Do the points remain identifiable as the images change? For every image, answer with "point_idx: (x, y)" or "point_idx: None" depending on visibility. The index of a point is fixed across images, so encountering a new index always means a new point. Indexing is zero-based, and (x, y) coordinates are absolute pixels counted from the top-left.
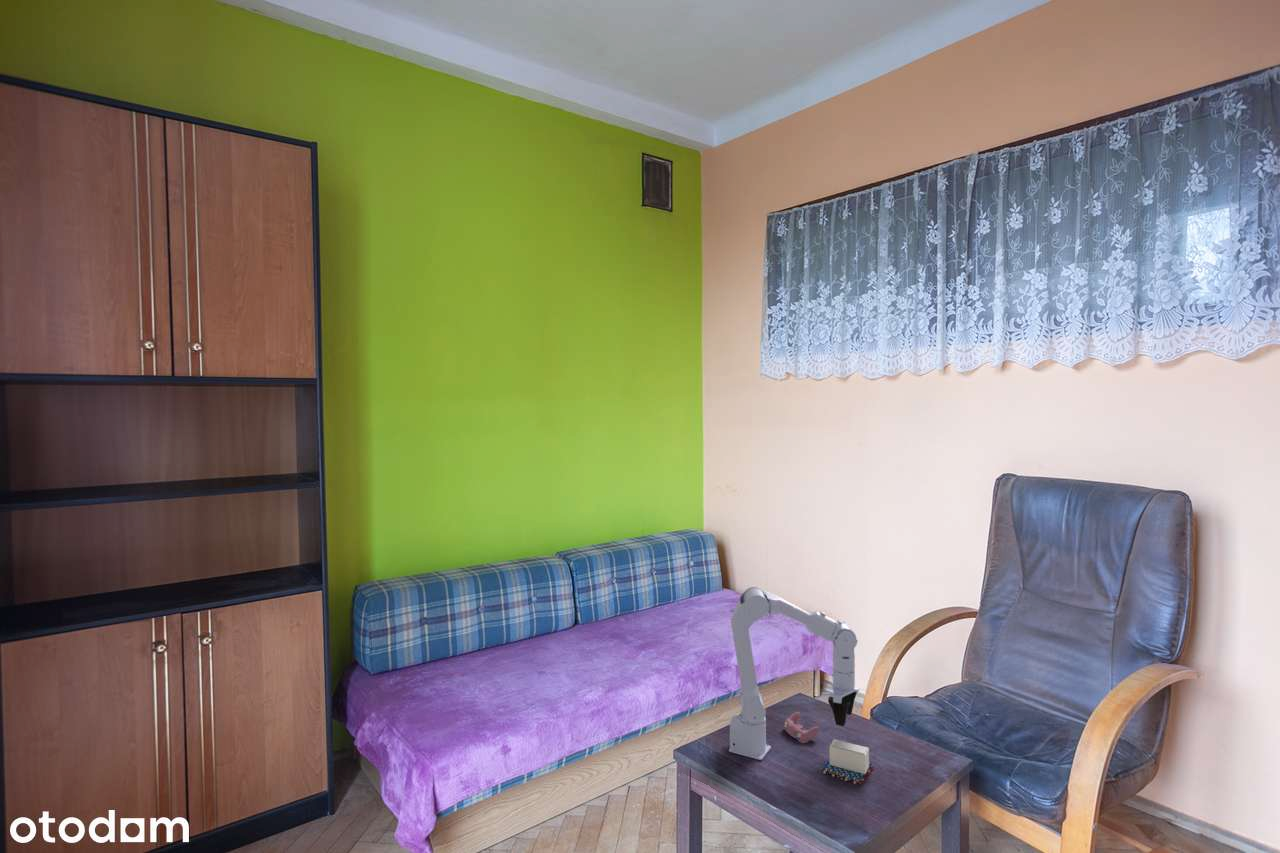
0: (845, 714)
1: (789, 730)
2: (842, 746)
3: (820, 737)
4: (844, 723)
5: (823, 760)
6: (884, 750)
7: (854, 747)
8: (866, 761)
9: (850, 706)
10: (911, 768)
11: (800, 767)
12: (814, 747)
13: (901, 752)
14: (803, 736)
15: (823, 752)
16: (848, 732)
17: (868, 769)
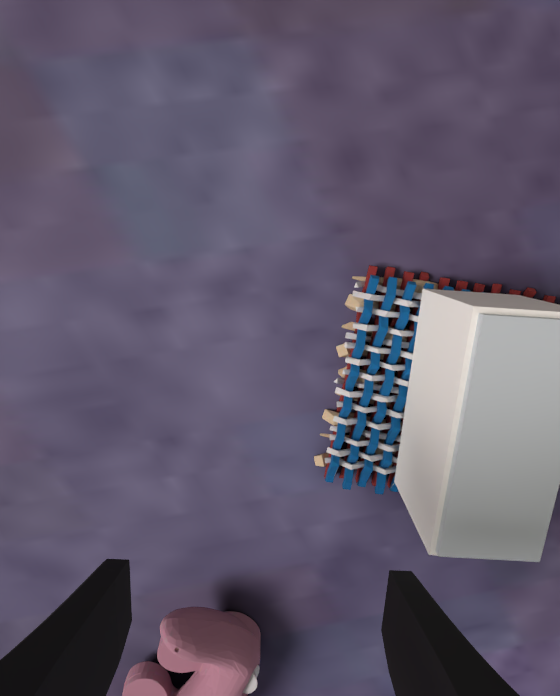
0: (513, 691)
1: None
2: (530, 488)
3: (150, 572)
4: (427, 591)
5: (384, 514)
6: (109, 237)
7: (518, 409)
8: (518, 301)
9: (89, 640)
10: (258, 38)
11: (494, 587)
12: (271, 575)
13: (76, 129)
14: (254, 659)
15: (302, 529)
16: (6, 461)
17: (432, 287)
